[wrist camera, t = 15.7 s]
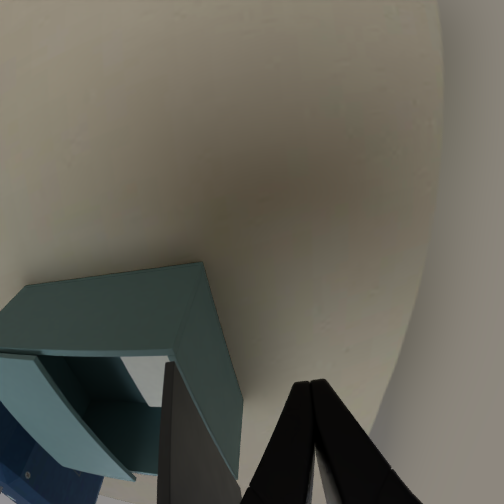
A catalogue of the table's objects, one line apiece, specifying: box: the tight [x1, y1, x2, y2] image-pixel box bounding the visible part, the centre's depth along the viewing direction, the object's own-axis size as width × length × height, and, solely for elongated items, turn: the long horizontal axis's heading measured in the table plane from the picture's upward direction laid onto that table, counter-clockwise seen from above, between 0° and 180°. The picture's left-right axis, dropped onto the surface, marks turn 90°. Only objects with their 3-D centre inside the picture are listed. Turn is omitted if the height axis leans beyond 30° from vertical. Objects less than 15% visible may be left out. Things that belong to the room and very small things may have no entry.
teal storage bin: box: [0, 262, 243, 482], centre depth 19 cm, size 15×13×8 cm
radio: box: [0, 401, 104, 504], centre depth 21 cm, size 21×9×20 cm, turn 178°
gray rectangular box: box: [120, 356, 170, 407], centre depth 20 cm, size 4×6×3 cm
